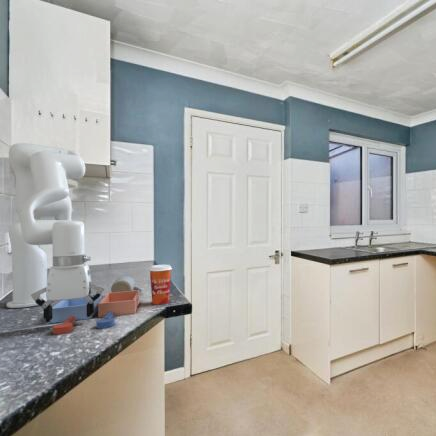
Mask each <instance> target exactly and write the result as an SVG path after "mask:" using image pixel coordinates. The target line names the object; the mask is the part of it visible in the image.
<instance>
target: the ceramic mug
mask: <svg viewBox="0 0 436 436" xmlns="http://www.w3.org/2000/svg"><path fill="white" fill-rule="evenodd" d="M134 290H140V296H141V295H142V294H143V290H142V289H141V288H140V287H138V286H136V281H135V280H134V278H133V277H131V276H128V275H121V276H119V277H117V278H116V280H114V282H113V283H112V285H111V287H110V293H112V292H123V291H134Z"/></svg>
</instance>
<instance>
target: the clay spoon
mask: <svg viewBox="0 0 436 436" xmlns="http://www.w3.org/2000/svg"><path fill="white" fill-rule="evenodd" d="M75 322H76V320H75V316H70V317H68V318H67V319H66V320H65V321H64V322H61V323H58V324H55V325H53V326H52V334H53V335H63V334H68V333H71V332H72V331H74V323H75Z"/></svg>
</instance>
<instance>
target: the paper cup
mask: <svg viewBox="0 0 436 436" xmlns="http://www.w3.org/2000/svg"><path fill="white" fill-rule="evenodd" d="M172 269H173V268H172V266H171V265H170V264H155V265H151V266H150V268H149V269H148V272H149V277H150V287H151V288H150V291H151V303H152V305H158V306H159V305H165V304H168V303H170V292H171V277H172Z"/></svg>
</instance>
